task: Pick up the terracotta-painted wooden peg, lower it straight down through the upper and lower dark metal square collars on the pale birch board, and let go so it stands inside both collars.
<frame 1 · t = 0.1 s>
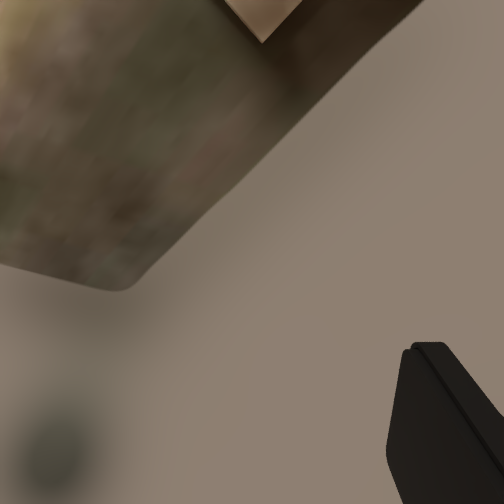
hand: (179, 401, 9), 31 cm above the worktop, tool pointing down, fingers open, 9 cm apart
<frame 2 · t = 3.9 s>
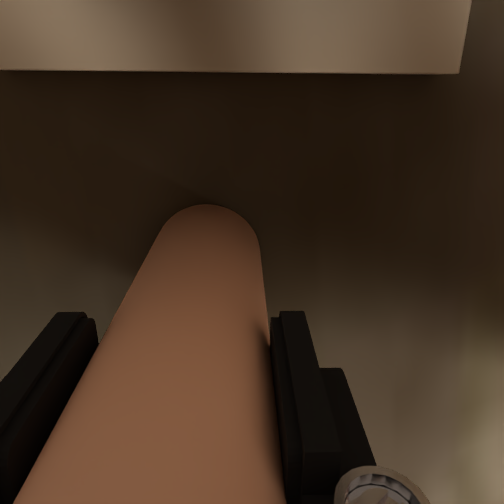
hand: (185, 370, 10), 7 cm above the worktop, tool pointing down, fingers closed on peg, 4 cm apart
peg: (207, 254, 16), on the worktop, touching gripper
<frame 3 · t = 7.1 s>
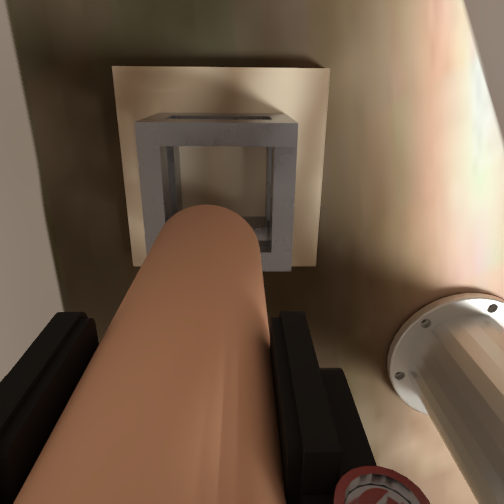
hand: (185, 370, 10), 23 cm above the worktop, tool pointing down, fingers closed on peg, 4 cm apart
collar stand: (224, 171, 31), on the worktop
peg: (207, 255, 16), point 16 cm above the worktop, touching gripper
when the fingers open (10 cm above the worktop, at t = 10.4 s): peg drops 1 cm, resting on collar stand.
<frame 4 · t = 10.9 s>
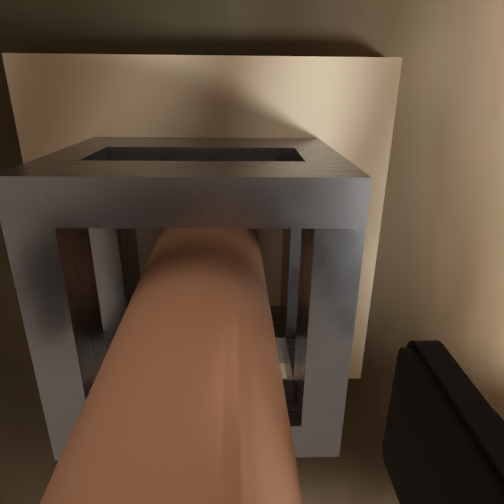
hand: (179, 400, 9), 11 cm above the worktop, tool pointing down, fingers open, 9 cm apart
collar stand: (212, 230, 19), on the worktop
peg: (210, 243, 17), point 2 cm above the worktop, touching collar stand
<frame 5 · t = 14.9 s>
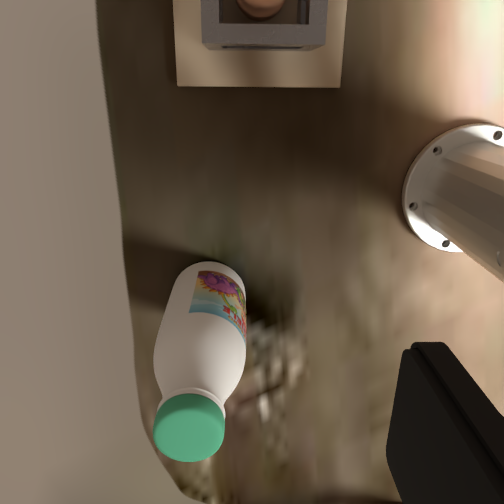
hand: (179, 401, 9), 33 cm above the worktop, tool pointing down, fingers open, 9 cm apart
milk bottle: (209, 291, 45), on the worktop
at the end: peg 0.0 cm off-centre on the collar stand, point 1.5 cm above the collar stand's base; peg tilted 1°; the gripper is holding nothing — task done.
